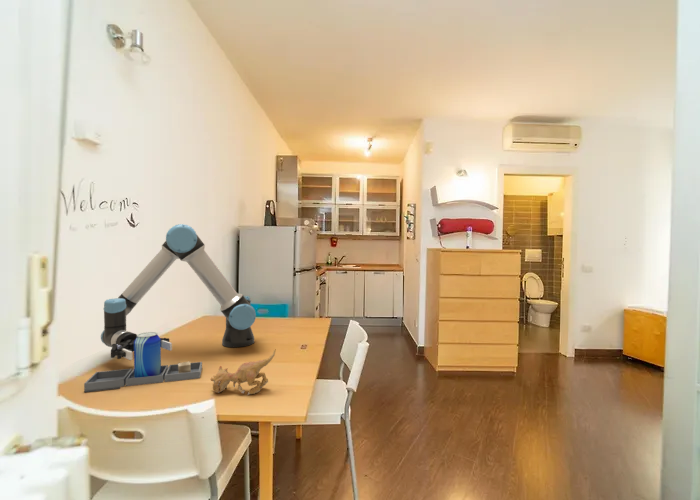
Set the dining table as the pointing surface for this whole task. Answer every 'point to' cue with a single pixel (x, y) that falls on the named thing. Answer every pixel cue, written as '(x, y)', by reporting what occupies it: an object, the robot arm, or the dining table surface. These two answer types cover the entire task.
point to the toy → (242, 376)
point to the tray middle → (146, 378)
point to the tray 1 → (107, 380)
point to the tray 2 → (175, 376)
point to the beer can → (147, 355)
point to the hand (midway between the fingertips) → (152, 351)
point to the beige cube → (184, 367)
